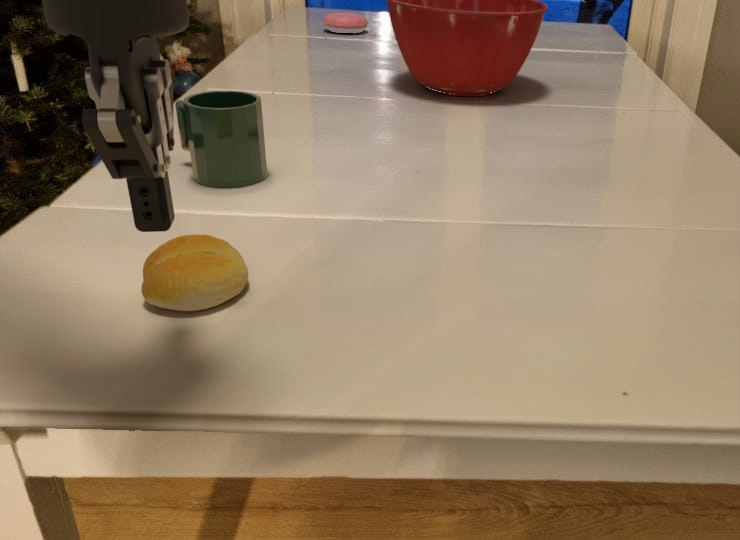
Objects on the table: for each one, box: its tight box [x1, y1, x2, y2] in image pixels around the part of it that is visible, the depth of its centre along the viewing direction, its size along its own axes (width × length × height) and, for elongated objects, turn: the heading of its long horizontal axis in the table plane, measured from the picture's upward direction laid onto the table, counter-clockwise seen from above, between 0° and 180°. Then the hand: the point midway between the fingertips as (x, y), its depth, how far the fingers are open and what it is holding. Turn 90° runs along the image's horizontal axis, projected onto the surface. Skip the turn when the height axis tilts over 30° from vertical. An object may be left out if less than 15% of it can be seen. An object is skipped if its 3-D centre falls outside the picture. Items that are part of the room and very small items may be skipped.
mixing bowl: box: [386, 0, 549, 97], centre depth 126 cm, size 28×28×15 cm
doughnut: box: [322, 11, 369, 35], centre depth 175 cm, size 11×11×4 cm
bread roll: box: [141, 234, 249, 312], centre depth 59 cm, size 8×9×4 cm
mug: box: [175, 90, 268, 189], centre depth 83 cm, size 12×8×9 cm
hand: (156, 227), depth 47 cm, fingers closed
